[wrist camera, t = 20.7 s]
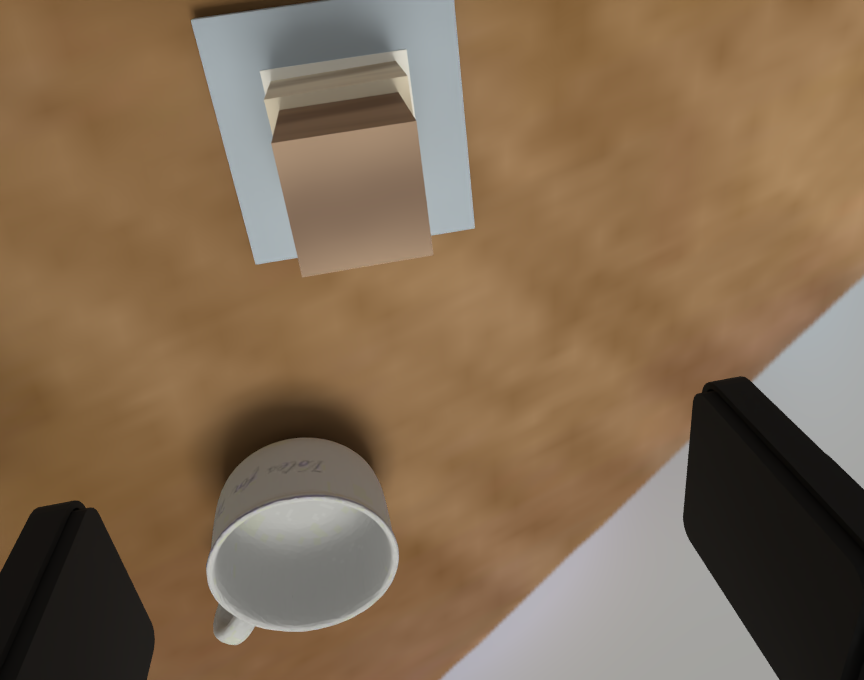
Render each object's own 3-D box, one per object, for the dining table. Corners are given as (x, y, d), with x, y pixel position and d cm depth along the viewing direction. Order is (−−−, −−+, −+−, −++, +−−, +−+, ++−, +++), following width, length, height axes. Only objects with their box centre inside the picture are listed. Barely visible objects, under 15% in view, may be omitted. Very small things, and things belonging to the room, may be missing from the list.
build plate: (194, 18, 32) (190, 20, 31) (448, -18, 33) (452, -17, 32) (257, 256, 38) (255, 265, 37) (470, 221, 39) (475, 228, 38)
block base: (270, 81, 33) (263, 99, 28) (395, 60, 33) (407, 75, 29) (299, 202, 36) (297, 236, 31) (413, 182, 36) (427, 213, 32)
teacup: (311, 384, 42) (310, 466, 35) (419, 481, 47) (437, 571, 40) (151, 506, 45) (122, 606, 38) (269, 587, 50) (262, 688, 43)
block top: (279, 110, 28) (270, 143, 23) (398, 92, 29) (416, 121, 24) (304, 224, 31) (302, 277, 26) (413, 206, 31) (433, 255, 26)
